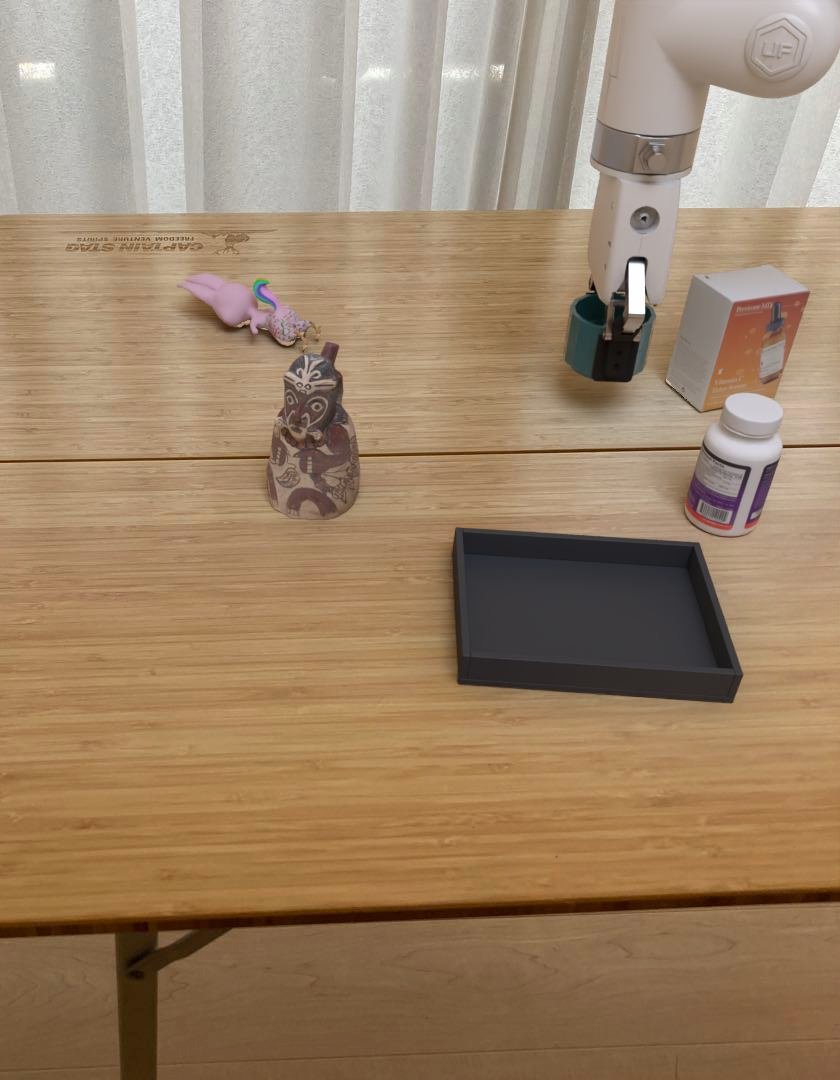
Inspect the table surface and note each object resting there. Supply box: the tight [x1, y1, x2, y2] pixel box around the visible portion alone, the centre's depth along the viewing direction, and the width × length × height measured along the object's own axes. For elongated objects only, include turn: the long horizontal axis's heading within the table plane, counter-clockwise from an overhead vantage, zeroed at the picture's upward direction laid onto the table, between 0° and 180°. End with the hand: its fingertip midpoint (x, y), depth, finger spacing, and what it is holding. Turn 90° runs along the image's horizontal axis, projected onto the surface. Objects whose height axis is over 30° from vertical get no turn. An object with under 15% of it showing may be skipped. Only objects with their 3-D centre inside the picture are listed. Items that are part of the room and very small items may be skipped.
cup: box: [562, 292, 657, 380], centre depth 93 cm, size 7×7×5 cm
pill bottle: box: [684, 393, 785, 537], centre depth 81 cm, size 5×5×10 cm
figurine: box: [266, 340, 361, 521], centre depth 82 cm, size 7×7×12 cm
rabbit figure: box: [175, 272, 322, 346], centre depth 104 cm, size 6×6×15 cm
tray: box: [451, 526, 744, 704], centre depth 74 cm, size 17×13×2 cm
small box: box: [665, 263, 811, 412], centre depth 95 cm, size 8×6×10 cm
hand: (604, 356), depth 94 cm, fingers closed on cup, 6 cm apart
